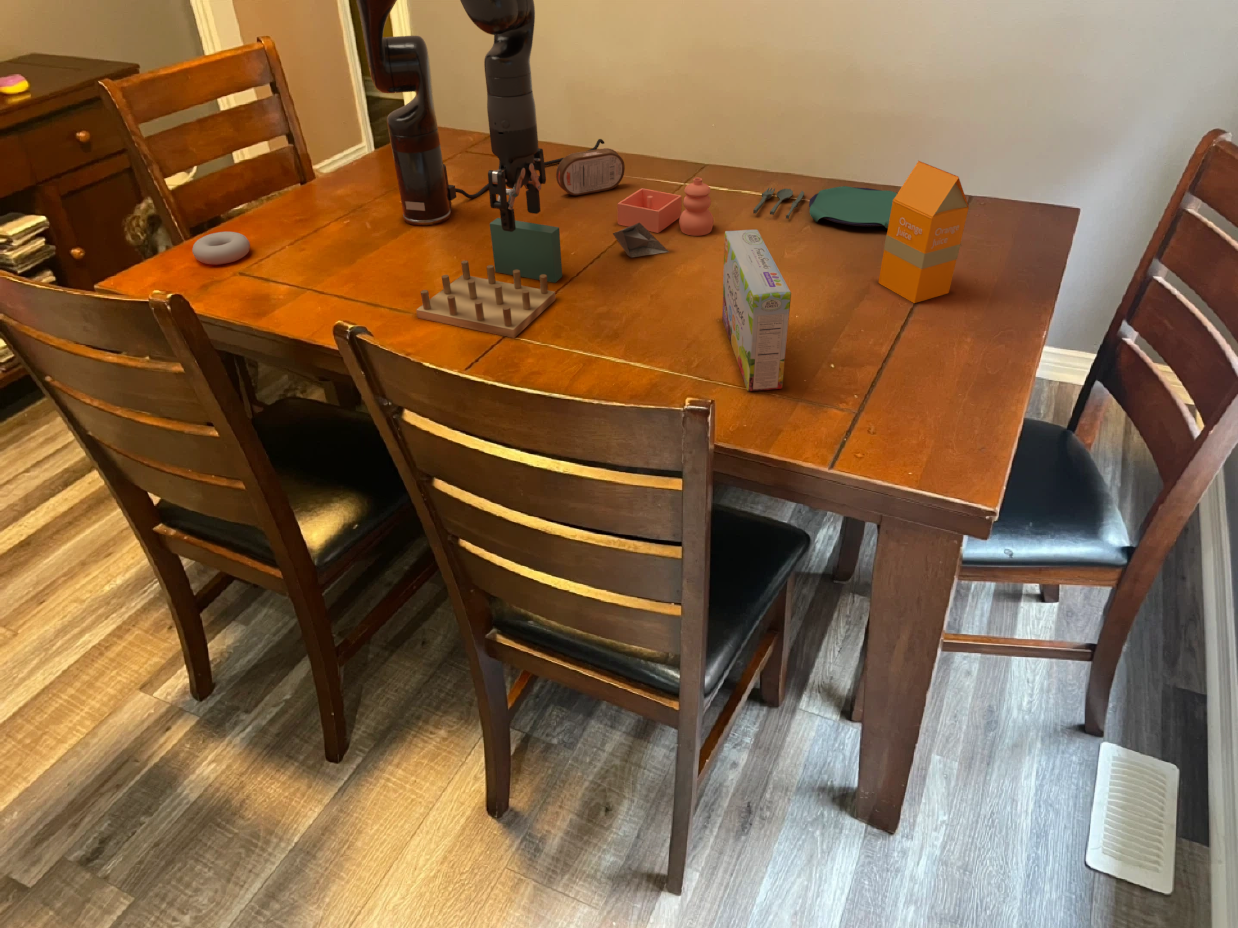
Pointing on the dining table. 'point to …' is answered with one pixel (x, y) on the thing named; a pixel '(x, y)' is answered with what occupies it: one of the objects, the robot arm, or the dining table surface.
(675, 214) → the pottery
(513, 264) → the teal rectangular block
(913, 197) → the orange juice
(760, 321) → the snack box
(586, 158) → the tin
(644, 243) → the paper boat
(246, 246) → the donut
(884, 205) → the cutlery set
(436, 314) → the rack
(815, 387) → the dining table surface
